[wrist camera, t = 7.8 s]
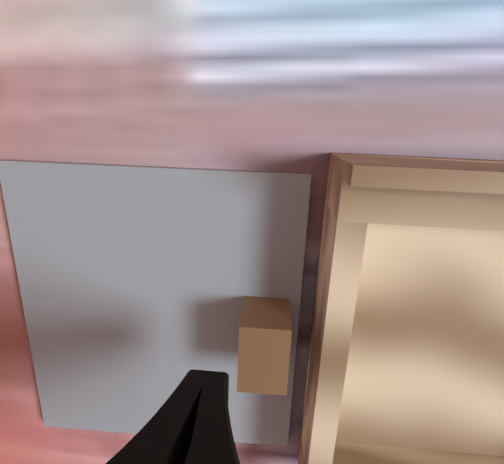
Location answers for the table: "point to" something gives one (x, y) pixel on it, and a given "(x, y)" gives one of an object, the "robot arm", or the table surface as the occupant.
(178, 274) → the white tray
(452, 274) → the birch box
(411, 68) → the table surface
